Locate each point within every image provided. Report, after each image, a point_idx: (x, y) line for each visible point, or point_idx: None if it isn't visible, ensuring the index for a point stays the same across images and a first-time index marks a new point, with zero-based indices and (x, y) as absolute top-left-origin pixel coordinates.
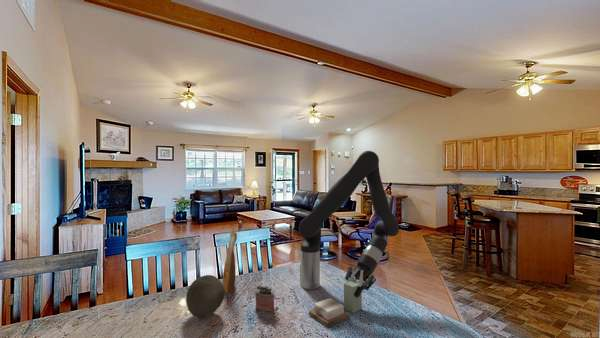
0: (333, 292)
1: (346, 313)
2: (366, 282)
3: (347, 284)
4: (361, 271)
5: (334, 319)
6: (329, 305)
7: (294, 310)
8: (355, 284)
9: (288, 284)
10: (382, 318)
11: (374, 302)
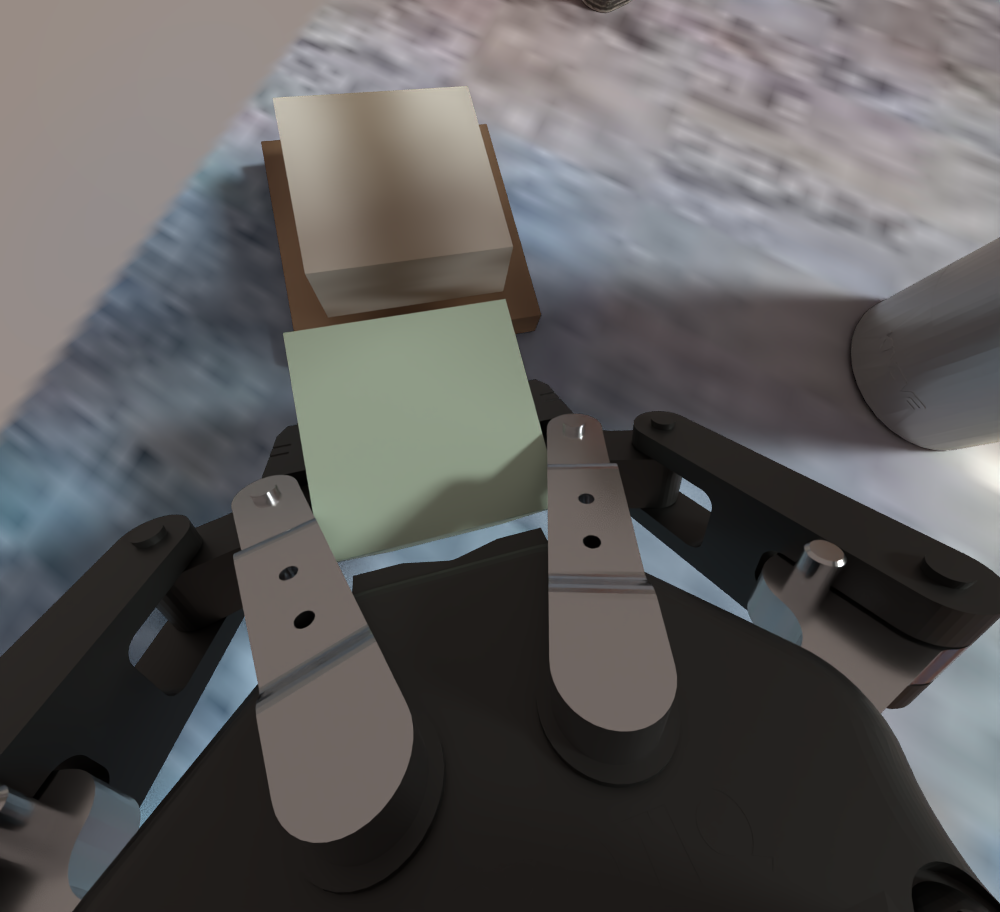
0: None
1: None
2: (91, 609)
3: (429, 319)
4: (367, 731)
5: (281, 207)
6: (374, 168)
7: (575, 107)
8: (367, 446)
9: (964, 240)
10: (146, 632)
11: None
